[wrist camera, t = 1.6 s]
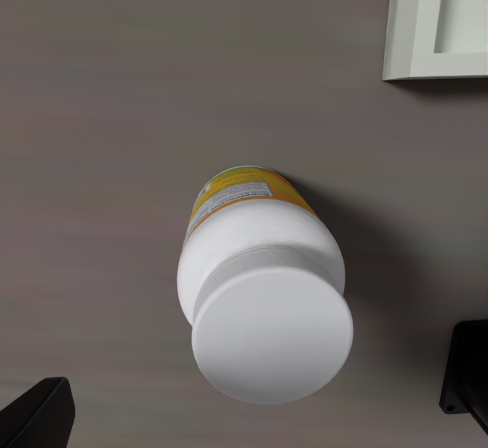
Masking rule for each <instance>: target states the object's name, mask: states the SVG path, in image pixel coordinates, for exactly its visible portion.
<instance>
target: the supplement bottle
mask: <svg viewBox="0 0 488 448" xmlns="http://www.w3.org/2000/svg"><path fill="white" fill-rule="evenodd" d="M344 287H345V267H344V262H343V258H342V254H341V251H340V249H339V247H338V244H337V242H336V241H335V239H334V237H333V236H332V234H331V233H330V231H329V230H328V229H327V227H326V226H325V225H324V223H323V222H322V221H321V220H320V219H319V217H318V216H317V215H316V214H315V213H314V211H313V210H312V209H311V208H310V207H309V205H308V204H307V203H306V202H305V201H304V199H303V198H302V197H301V196H300V195H299V193H298V192H297V191H296V190H295V189H294V187H293V186H292V185H291V184H290V183H289V182H288V181H287V180H286V179H284V178H283V177H282V176H281V175H279V174H278V173H276V172H274V171H272V170H270V169H267V168H264V167H259V166H239V167H234V168H230V169H228V170H225V171H223V172H221V173H219V174H218V175H216V176H215V177H214V178H212V179H211V180H210V181H209V182H208V183H207V184H206V185H205V186H204V188H203V189H202V190H201V192H200V193H199V195H198V197H197V199H196V202H195V204H194V207H193V210H192V214H191V218H190V222H189V226H188V230H187V234H186V238H185V241H184V245H183V249H182V253H181V256H180V261H179V266H178V273H177V288H178V295H179V300H180V304H181V307H182V309H183V312H184V314H185V316H186V318H187V320H188V321H189V323H190V324H191V326H192V327H193V330H192V347H193V352H194V356H195V360H196V362H197V364H198V367H199V369H200V370H201V372H202V374H203V375H204V377H205V378H206V379H207V380H208V381H209V382H210V383H211V384H212V385H213V386H214V387H215V388H217V389H218V390H219V391H221V392H222V393H224V394H226V395H228V396H230V397H232V398H234V399H237V400H240V401H243V402H246V403H251V404H261V405H275V404H283V403H288V402H292V401H296V400H299V399H301V398H304V397H306V396H308V395H310V394H312V393H314V392H316V391H318V390H319V389H321V388H322V387H323V386H325V385H326V384H327V383H328V382H329V381H330V380H332V379H333V378H334V377H335V375H336V374H337V373H338V372H339V371H340V369H341V368H342V366H343V365H344V363H345V361H346V359H347V357H348V355H349V352H350V350H351V346H352V341H353V333H354V332H353V320H352V315H351V312H350V309H349V307H348V304H347V302H346V300H345V298H344V297H343V292H344Z"/></svg>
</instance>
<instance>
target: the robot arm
mask: <svg viewBox="0 0 488 448" xmlns="http://www.w3.org/2000/svg"><path fill="white" fill-rule="evenodd" d="M465 330H466V331H465ZM464 331H465V332H464ZM439 406H440V408H441V409H442V410H443V412H444V413H445V414H461V413H470V414H471V415H472V416H473V418H474V419H475V420H476V421H477V423H478V424H479V425H480V426H481V428H482V429H483V430H484V431H485V433H486V434H487V435H488V320H480V321H464V322H460V323H458V324H457V325H456V326H455V328H454V332H453V337H452V342H451V347H450V352H449V357H448V362H447V367H446V372H445V377H444V382H443V387H442V392H441V397H440V402H439ZM74 419H75V405H74V401H73V396H72V392H71V388H70V384H69V381H68V379H67V378H66V377H50V378H45V379H43V380H41V381H40V382H39V383H37V384H36V385H35V386H33V387H32V388H31V389H29V390H28V391H27V392H25V393H24V394H23V395H21V396H20V397H19V398H17V399H16V400H14V401H13V402H12V403H10V404H9V405H8V406H6V407H5V408H4V409H2V410H1V411H0V448H66V447H67V443H68V440H69V436H70V433H71V430H72V426H73V423H74Z"/></svg>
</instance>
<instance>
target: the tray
mask: <svg viewBox="0 0 488 448" xmlns="http://www.w3.org/2000/svg"><path fill="white" fill-rule="evenodd" d="M451 78H488V0H390V2H389V12H388V23H387V33H386V44H385V54H384V65H383V75H382V80H412V79H451Z"/></svg>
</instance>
